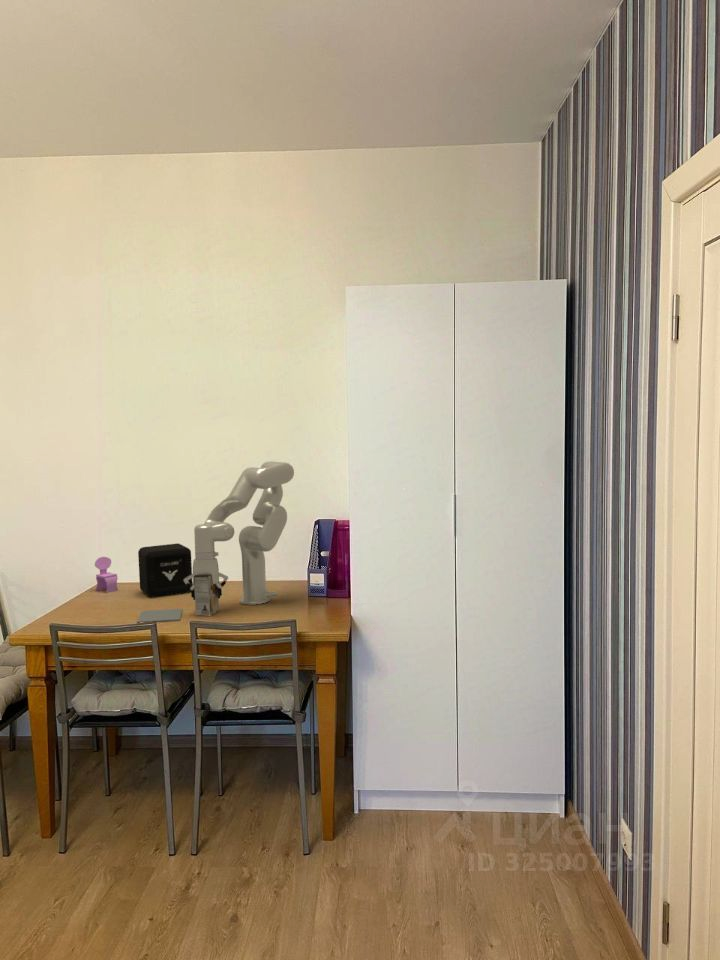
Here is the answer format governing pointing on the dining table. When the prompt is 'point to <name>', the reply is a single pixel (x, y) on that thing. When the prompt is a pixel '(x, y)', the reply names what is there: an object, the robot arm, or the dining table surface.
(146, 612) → the slate mat
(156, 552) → the black rounded block
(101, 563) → the toy chair
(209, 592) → the coffee box
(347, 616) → the dining table surface
